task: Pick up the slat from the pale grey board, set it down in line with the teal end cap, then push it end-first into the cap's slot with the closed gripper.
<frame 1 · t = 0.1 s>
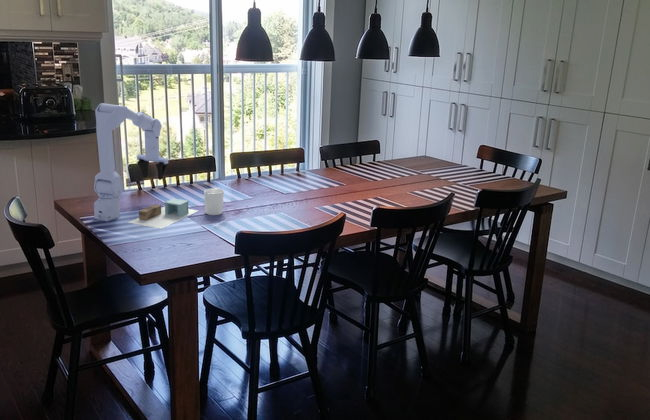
hand: (153, 178, 258), 10 cm above the table, tool pointing down, fingers open, 7 cm apart
slat: (150, 216, 238), point 1 cm above the table, touching board
board: (164, 218, 239), on the table
white cup: (213, 214, 247), on the table
end cap: (176, 213, 243), resting on board
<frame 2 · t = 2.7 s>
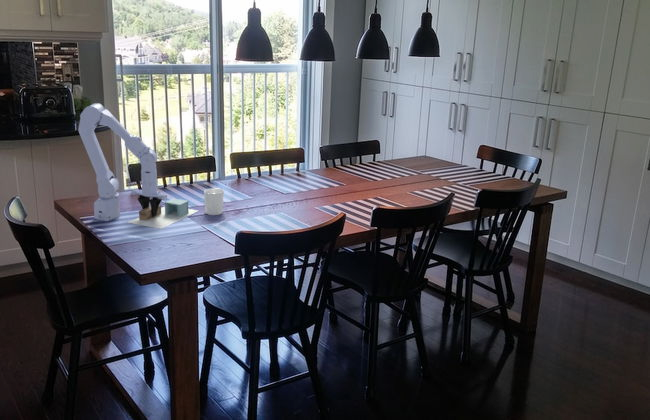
hand: (150, 214, 237), 2 cm above the table, tool pointing down, fingers closed on slat, 3 cm apart
slat: (150, 216, 238), point 1 cm above the table, touching board, gripper
everything else where it was.
when the fingers open (2 cm above the table, at t = 5.4 s): slat stays where it is, resting on board.
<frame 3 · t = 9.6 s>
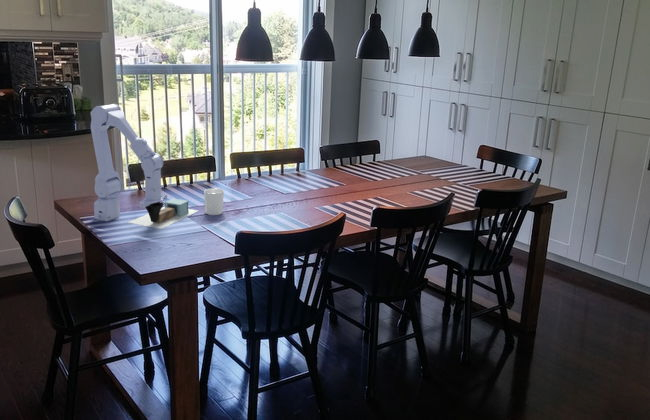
hand: (154, 221, 229), 2 cm above the table, tool pointing down, fingers closed
slat: (164, 219, 235), point 1 cm above the table, touching board, gripper
everything else where it was.
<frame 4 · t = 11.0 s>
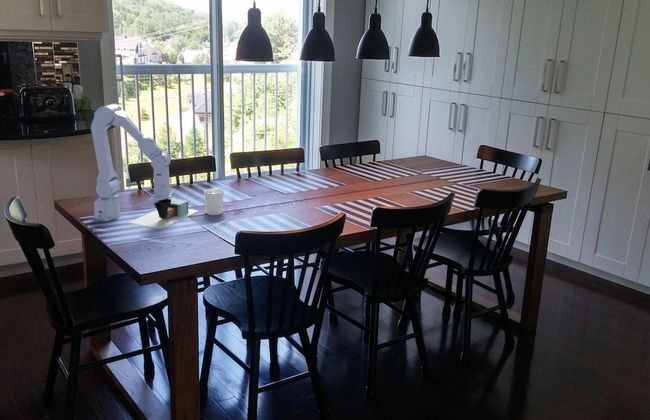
hand: (162, 217, 234), 2 cm above the table, tool pointing down, fingers closed
slat: (172, 215, 240), point 1 cm above the table, touching board, gripper
everything else where it was.
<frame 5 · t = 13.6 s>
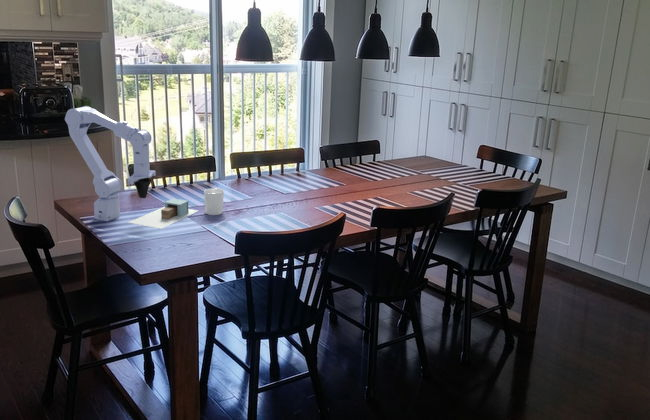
hand: (142, 197, 230), 10 cm above the table, tool pointing down, fingers closed
slat: (172, 215, 240), point 1 cm above the table, touching board
everything else where it was.
at the end: slat 0.4 cm from the target spot, point 0.8 cm above the table; the gripper is holding nothing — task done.
